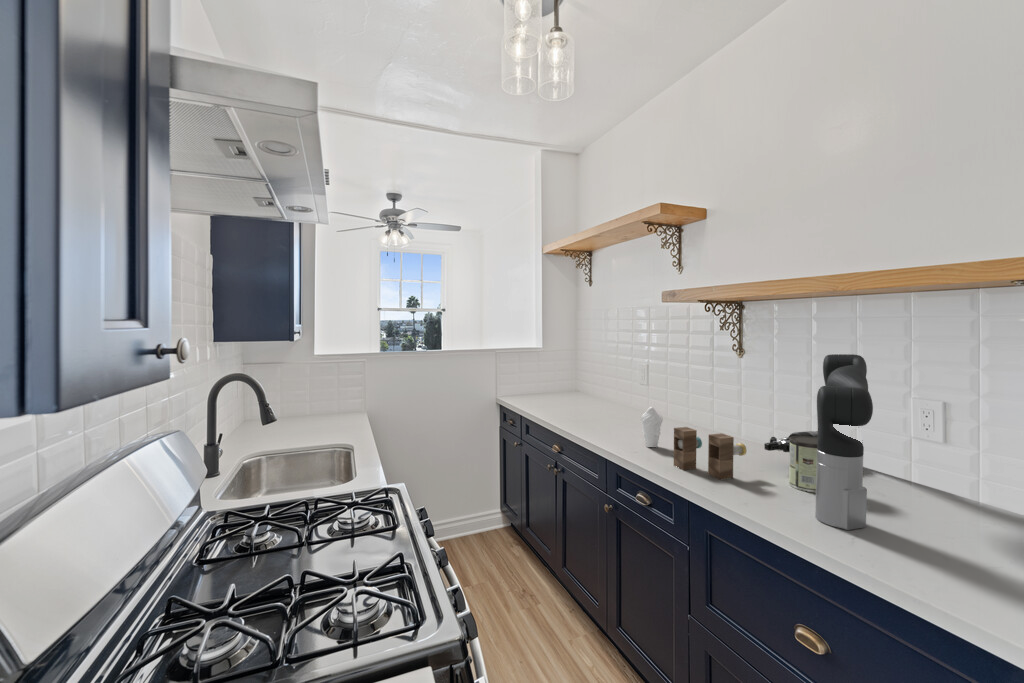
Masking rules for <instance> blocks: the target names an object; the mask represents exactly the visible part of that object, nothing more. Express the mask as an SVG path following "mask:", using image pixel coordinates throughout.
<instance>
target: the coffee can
mask: <svg viewBox="0 0 1024 683" xmlns="http://www.w3.org/2000/svg"><path fill="white" fill-rule="evenodd" d="M817 438H818V437H811V436H792V437H790V438H789V440H790V452H789V468H788V469H789V472H788V473H789V474H788V475H789V476H788V477H789V478H788V486H790V487H792V488H794V489H795V490H796V489H797V490H798V489H799V490H800V491H802V490H803V491H802V492H806V491H807V493H814V494H816V465H817Z"/></svg>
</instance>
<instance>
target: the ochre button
mask: <svg viewBox="0 0 1024 683" xmlns="http://www.w3.org/2000/svg"><path fill="white" fill-rule="evenodd" d="M746 454H747V446H746V445H745V444H744V443H741V442H739V443H736V444H734V447H733V456H737V455H738V456H746Z"/></svg>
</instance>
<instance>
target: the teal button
mask: <svg viewBox="0 0 1024 683" xmlns="http://www.w3.org/2000/svg"><path fill="white" fill-rule="evenodd" d="M678 446H679V448H680V449H683V440H682V439H681V440H678ZM702 446H703V441H702V439H701V437H699V436H697V437H696V449H701V448H702Z"/></svg>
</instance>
